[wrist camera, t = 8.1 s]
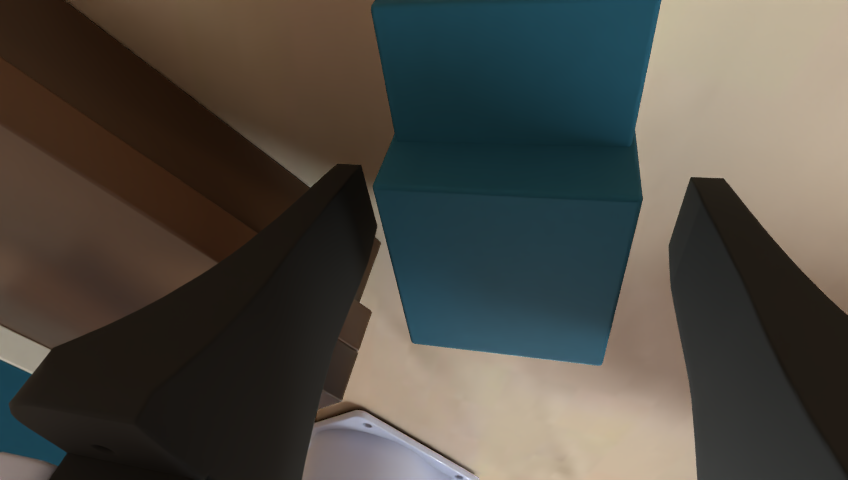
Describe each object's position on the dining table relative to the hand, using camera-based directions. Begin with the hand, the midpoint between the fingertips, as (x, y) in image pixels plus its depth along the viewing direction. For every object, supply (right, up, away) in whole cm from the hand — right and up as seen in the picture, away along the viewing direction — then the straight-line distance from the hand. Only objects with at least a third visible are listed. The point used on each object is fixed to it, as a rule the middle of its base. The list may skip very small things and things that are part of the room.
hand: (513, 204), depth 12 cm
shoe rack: (-14, -2, +9) cm, 17 cm away
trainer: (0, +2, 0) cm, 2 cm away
